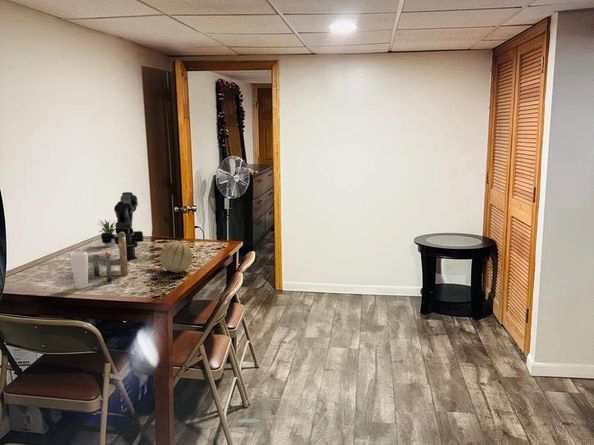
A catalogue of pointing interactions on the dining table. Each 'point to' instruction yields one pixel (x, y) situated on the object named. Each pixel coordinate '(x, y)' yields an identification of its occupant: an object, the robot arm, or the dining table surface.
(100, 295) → the dining table surface
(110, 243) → the house plant
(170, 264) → the cantaloupe
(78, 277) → the cream white cylinder
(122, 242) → the gate
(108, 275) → the post
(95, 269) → the post
